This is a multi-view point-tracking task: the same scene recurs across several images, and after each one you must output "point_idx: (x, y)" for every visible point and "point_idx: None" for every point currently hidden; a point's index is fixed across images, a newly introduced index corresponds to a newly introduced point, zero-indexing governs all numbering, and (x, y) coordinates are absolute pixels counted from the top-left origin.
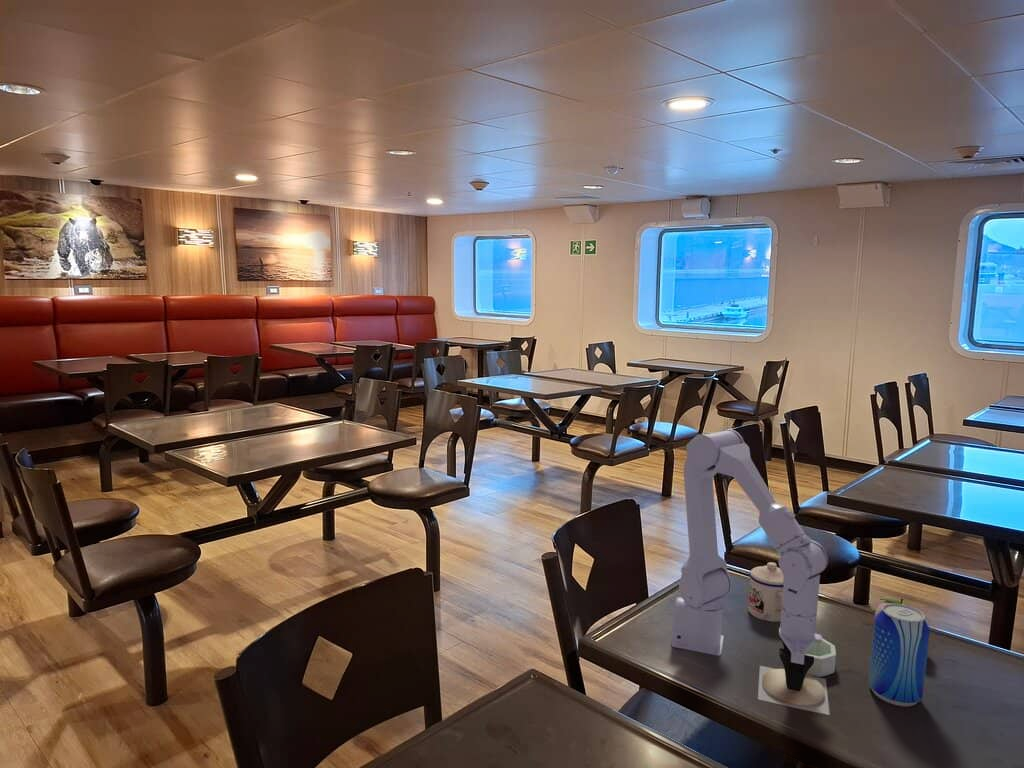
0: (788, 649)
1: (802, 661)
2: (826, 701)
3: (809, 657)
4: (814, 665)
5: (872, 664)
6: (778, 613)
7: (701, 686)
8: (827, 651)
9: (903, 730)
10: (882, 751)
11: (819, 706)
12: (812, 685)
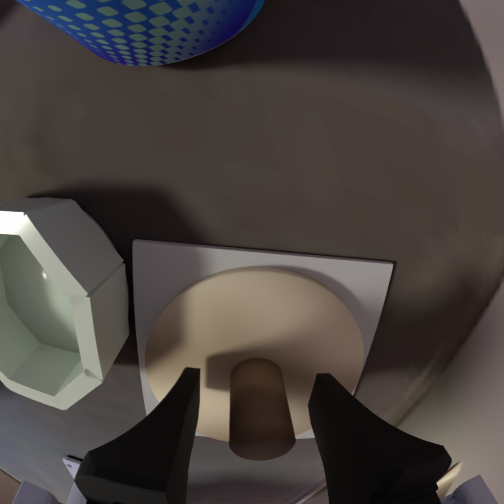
0: (185, 477)
1: (483, 486)
2: (311, 263)
3: (411, 480)
4: (108, 305)
5: (137, 11)
6: None
7: (291, 496)
8: None
9: (392, 33)
10: (492, 144)
11: (351, 293)
12: (238, 315)
